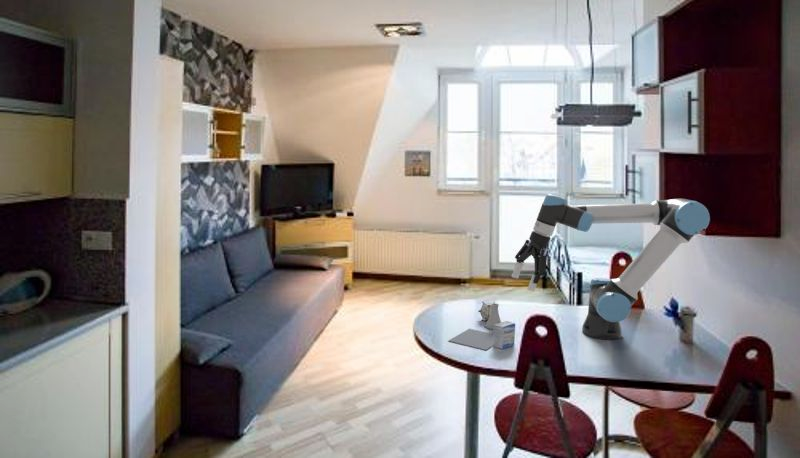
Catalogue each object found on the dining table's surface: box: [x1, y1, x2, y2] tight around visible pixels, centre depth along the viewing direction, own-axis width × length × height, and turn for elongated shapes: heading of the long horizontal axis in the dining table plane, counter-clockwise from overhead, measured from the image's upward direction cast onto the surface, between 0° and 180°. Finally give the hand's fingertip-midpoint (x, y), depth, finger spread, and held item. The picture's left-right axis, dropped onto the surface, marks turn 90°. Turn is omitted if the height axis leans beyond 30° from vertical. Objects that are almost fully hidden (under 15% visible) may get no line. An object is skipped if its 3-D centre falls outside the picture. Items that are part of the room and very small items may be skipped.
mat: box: [448, 328, 494, 351], centre depth 213 cm, size 16×18×1 cm
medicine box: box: [492, 320, 516, 350], centre depth 207 cm, size 8×4×9 cm, turn 132°
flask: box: [485, 302, 502, 330], centre depth 228 cm, size 7×7×10 cm
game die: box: [477, 301, 496, 322], centre depth 237 cm, size 9×8×10 cm
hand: (522, 283), depth 213 cm, fingers open, 13 cm apart
